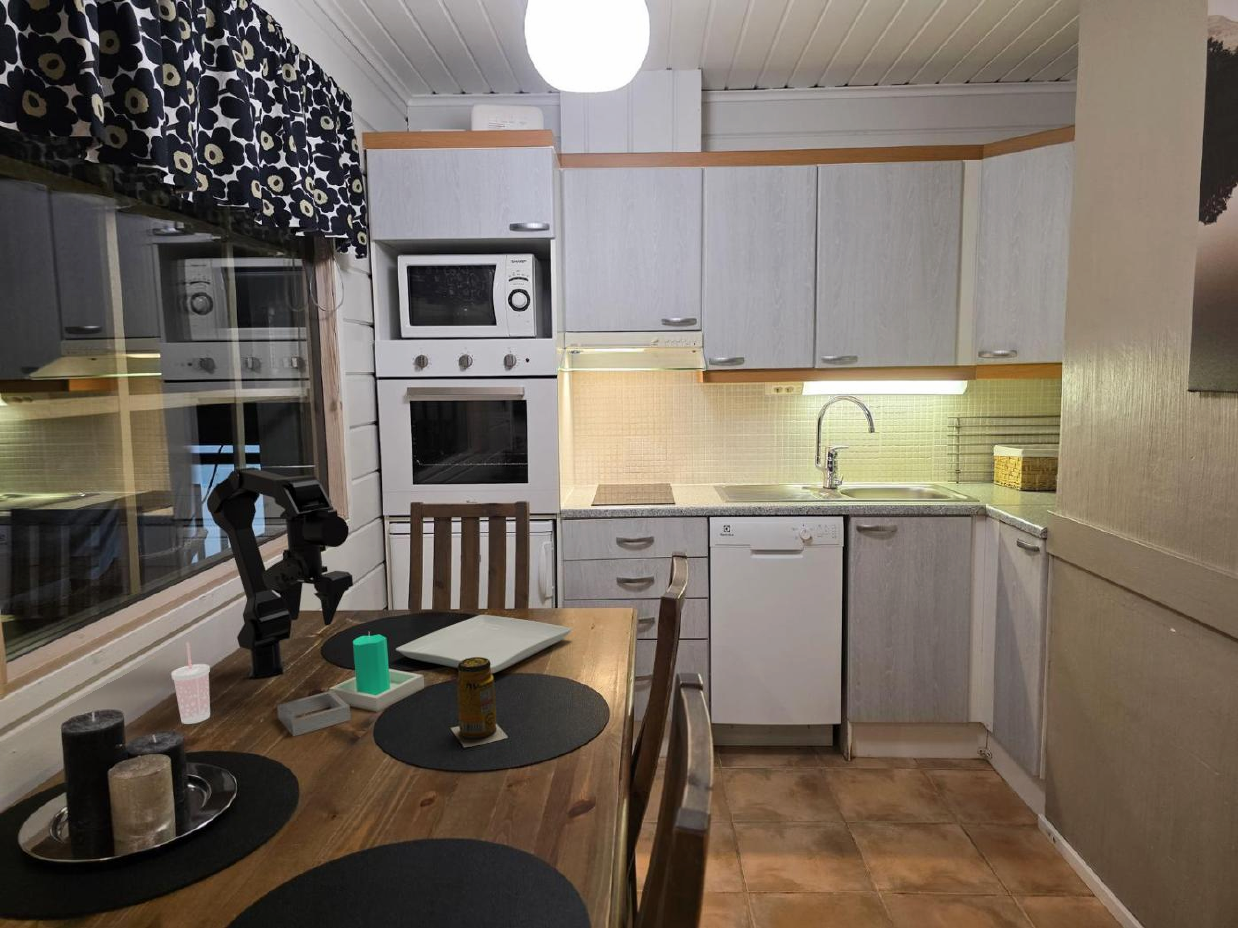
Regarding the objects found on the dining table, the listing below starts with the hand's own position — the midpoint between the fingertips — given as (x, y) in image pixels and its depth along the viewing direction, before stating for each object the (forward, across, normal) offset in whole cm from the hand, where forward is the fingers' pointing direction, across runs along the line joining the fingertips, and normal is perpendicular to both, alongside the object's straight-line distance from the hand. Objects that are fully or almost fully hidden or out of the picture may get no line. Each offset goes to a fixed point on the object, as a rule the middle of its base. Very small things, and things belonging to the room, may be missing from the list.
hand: (311, 622), depth 155 cm
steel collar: (+13, +12, -11) cm, 21 cm away
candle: (+13, +14, +1) cm, 19 cm away
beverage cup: (+13, -9, -19) cm, 25 cm away
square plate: (+14, +18, +29) cm, 37 cm away
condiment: (+13, +43, -4) cm, 45 cm away
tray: (+13, +14, +2) cm, 19 cm away
